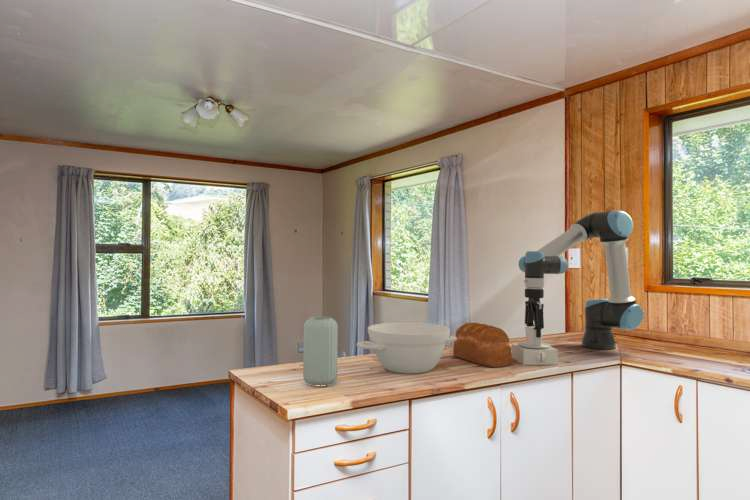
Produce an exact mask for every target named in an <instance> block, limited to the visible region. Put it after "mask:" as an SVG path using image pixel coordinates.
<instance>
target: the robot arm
mask: <svg viewBox="0 0 750 500" xmlns="http://www.w3.org/2000/svg"><path fill="white" fill-rule="evenodd" d="M633 229H634V222H633V220H632V217H631V216H630V215H629V213H627V212H625V211H623V210H609V211H600V212H598V211H597V212H593V213H590V214H587V215H585V216H584V217H581V218H580V219H578V220H577V221H575V222H574V223H572V224H571V225H570V226H569V229H567V230H566V231H564V232H563V233H561V234H560V235H558V236H557V237H555V238H554V239H553V240H551V241H550V242H548V243H547V244H545V245H543V246H542V247H541V248H539V249H538V250H535V251H533V250H529V251H526V252H525V255H523V256H521V258H520V259H519V260H518V267H519V270H520V271H522V272H523V273H524V279H523V282H524V287H525V288H524V297H525V299H526V298H528V300H526V301H525V302H524V304H525V311H524V312H525V313H524V314H525V315H524V325H526V326H525V327H528V326H535V328H533V329H534V345H541V342H542V339H541V329H542V328H543V329H544V328H545V325H544V324H545V323H544V307H545V306H544V303H541V299H543V298H544V295H545V293H544V292H545V291H544V287H545V275H560V274H561V275H562V274H564V273H566V271H567V269H568V261H567V259H566V258H565V257H564V256H561V255H563V254H565V253H566V252H567V251H568V250H570V249H571V248H573V247H574V246H576V245H577V244H579V243H583V242H586V240H588V239H594V238H599V242H600V243H601V244H602V245H603V246H604V254H605V261H606V263H605V264H606V269H607V270H606V271H607V279H608V285H609V286H608V287H609V296H610V297H609V298H598V299H597V298H594V299H587V300H586V301H585V308H584V312H585V313H584V315H585V318H584V320H585V322H584V323H585V328H584V329H585V330H584V333H583V336H582V338H581V346H582V347H584V348H587V349H594V350H615V349H616V348H617V343H616V340H615V337H614V334H613V329H612V328H615V329H621V330H630V331H633V330H636V329H637V328H639V327H640V326H641V323H643V319H644V311H643V308H642V306H640V305H639V304H637V300H636V297H634V296H633V295H632V291H631V282H630V281H631V279H630V273H629V265H628V263H629V262H628V255H627V247H626V243H627V242H628V241H629V236H630V235H631V234H632V232H633ZM543 329H542V330H543Z"/></svg>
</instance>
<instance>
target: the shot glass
mask: <svg viewBox="0 0 750 500" xmlns="http://www.w3.org/2000/svg"><path fill="white" fill-rule="evenodd" d="M524 328H525V330H524V331H525V337H526V338H525V339H526V340H525V341H527V344H528V345H534V329H533V328H535V326H528V327H527V326H525V327H524ZM543 329H544V328H542V329H541V340H542V338H543Z"/></svg>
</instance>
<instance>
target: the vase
mask: <svg viewBox="0 0 750 500" xmlns="http://www.w3.org/2000/svg"><path fill="white" fill-rule="evenodd" d="M338 327H339V326H338V323H337V321H336V320H335V319H333V318H332V317H330V316H312V317H309V318H308V319H307V320H306V321H304V324H303V341H302V343H303V347H302V348H303V350H302V351H303V353H302V354H303V356H302V357H303V359H302V360H303V365H302V366H303V368H302V369H303V370H302V375H303V376H302V377H303V380H304V381H305V382H306V383H307V385H309V384H311V385H320V386H321V385H329V384H331V385H332V384H334V382H336V380H337V378H338V354H339V353H338V348H339V347H338V345H339V343H338V342H339V341H338V339H339V338H338V336H339V334H338V333H339V331H338ZM311 385H310V386H311ZM329 386H330V385H329Z"/></svg>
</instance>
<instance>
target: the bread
mask: <svg viewBox="0 0 750 500" xmlns="http://www.w3.org/2000/svg"><path fill="white" fill-rule="evenodd" d="M455 337H457V340H456V341H453V349H452V351H453V352H452V353H453V356H454V357H457V358H458V359H459V358H460V359H462V360H464V361H469V362H471V363H475V364H477V365H481V366H483V367H489V368H501V367H502V368H503V367H507V366H510V365H511V364H512V361H513V358H512V346H511V345H510V338H509V336H508V334H507V333H506V332H505V331H504V330H503V329H502V328H500V327H496V326H493V325H489V324H486V323H479V322H465V323H463V325H461V326H459V327H458V328H457V329H456V330H455Z"/></svg>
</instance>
